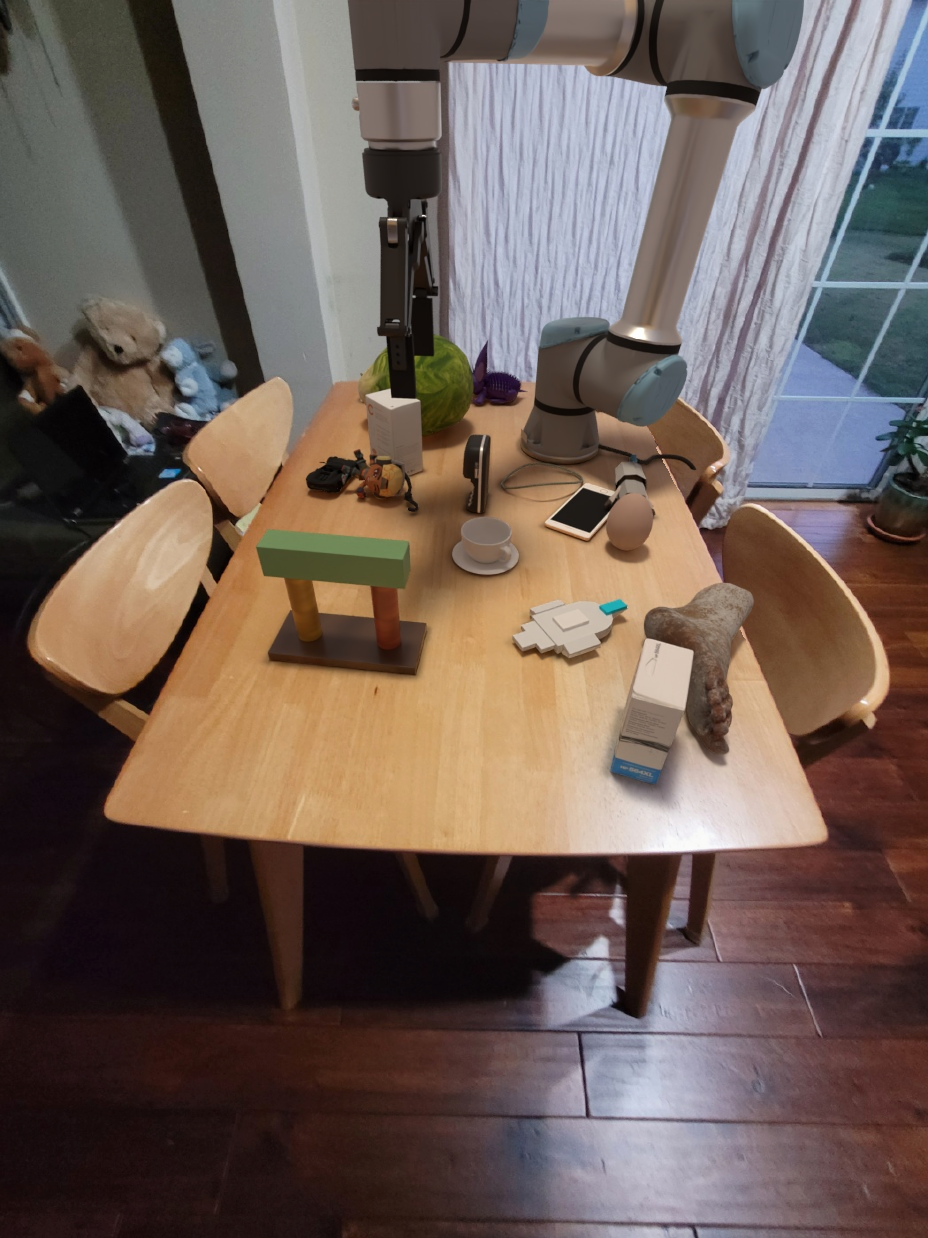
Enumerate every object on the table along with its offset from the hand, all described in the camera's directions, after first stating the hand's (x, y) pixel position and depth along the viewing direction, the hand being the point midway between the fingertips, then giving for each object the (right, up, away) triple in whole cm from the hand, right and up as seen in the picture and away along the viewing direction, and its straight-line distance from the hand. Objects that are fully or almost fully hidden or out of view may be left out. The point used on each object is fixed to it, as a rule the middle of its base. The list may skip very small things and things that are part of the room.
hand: (414, 374), depth 69 cm
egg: (+30, -18, +20) cm, 41 cm away
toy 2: (+33, -14, +22) cm, 42 cm away
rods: (-8, -32, +4) cm, 33 cm away
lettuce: (-4, +10, +51) cm, 52 cm away
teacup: (+9, -20, +18) cm, 28 cm away
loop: (+22, -1, +39) cm, 44 cm away
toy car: (-17, -5, +34) cm, 38 cm away
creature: (+12, +21, +64) cm, 68 cm away
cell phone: (+26, -11, +28) cm, 40 cm away
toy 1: (-13, -1, +31) cm, 33 cm away
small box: (-7, -1, +39) cm, 39 cm away
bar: (-8, -24, -4) cm, 26 cm away
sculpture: (+29, -34, -3) cm, 45 cm away
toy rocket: (+20, -29, +4) cm, 35 cm away
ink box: (+24, -43, -7) cm, 50 cm away
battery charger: (+8, -10, +30) cm, 32 cm away
